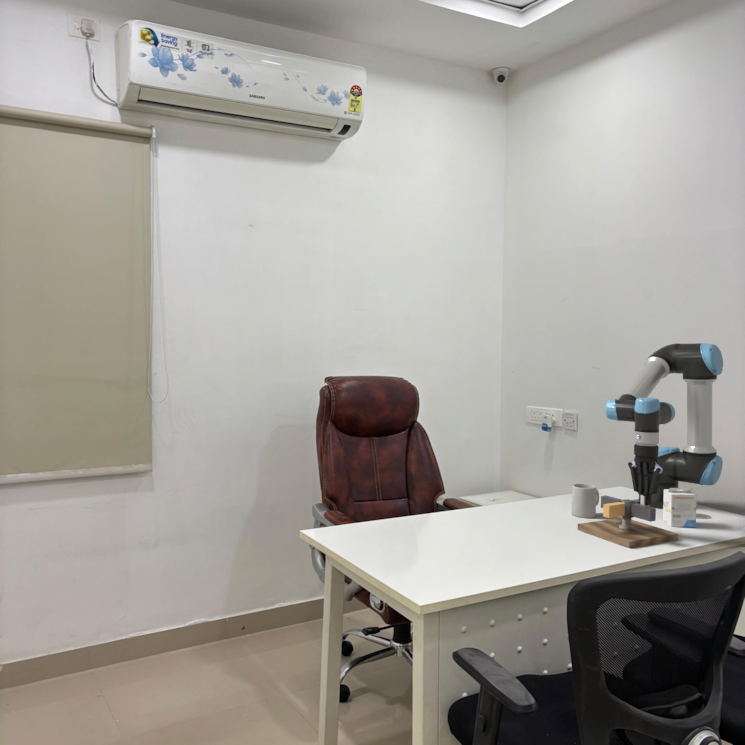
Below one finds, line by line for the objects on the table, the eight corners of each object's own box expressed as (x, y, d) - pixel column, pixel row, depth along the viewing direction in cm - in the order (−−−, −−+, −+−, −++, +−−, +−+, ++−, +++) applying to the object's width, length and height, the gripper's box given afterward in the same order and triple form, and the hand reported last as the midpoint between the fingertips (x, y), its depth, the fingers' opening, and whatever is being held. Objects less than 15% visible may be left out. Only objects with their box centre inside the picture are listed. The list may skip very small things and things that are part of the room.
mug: (584, 519, 231) (585, 489, 231) (566, 514, 238) (567, 484, 238) (607, 515, 237) (607, 486, 237) (588, 510, 244) (589, 482, 244)
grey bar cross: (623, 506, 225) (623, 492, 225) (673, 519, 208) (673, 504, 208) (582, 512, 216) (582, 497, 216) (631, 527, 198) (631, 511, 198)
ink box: (686, 521, 230) (688, 484, 229) (696, 528, 222) (697, 489, 221) (662, 520, 231) (663, 484, 230) (670, 527, 222) (671, 489, 222)
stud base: (624, 522, 227) (624, 506, 227) (677, 539, 207) (678, 521, 207) (577, 529, 217) (577, 512, 217) (629, 548, 197) (629, 528, 197)
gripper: (622, 442, 216) (621, 511, 216) (654, 447, 204) (653, 520, 205) (638, 441, 219) (636, 508, 220) (670, 446, 207) (669, 517, 208)
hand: (644, 514), depth 212 cm, fingers closed
